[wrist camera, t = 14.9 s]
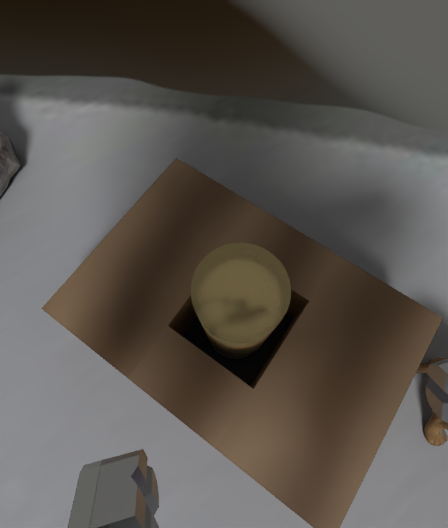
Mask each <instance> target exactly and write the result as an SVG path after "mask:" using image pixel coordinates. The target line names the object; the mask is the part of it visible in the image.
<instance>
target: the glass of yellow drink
mask: <svg viewBox="0 0 448 528" xmlns="http://www.w3.org/2000/svg"><path fill="white" fill-rule="evenodd" d="M191 299H192V304H193V307H194V310H195V312H196V314H197V316H198V318H199V320H200V322H201V324H202V326H203V328H204V331H205V333H206V335H207V337H208V339H209V341H210V343H211V345H212V346H213V347H214V349H215V350H216V351H218V352H219V353H220V354H222V355H224V356H226V357H229V358H244V357H247V356H249V355H251V354H253V353H254V352H255V351H256V350H257V349H258V348H259V347H260V346H261V345H262V344H263V342H264V341H265V340H266V339H267V337H268V336H269V335H270V334H271V333H272V331H273V330H274V329H275V328H276V327H277V325H278V324H279V323H280V322H281V320H282V319H283V318H284V316H285V314H286V312H287V310H288V307H289V304H290V300H291V285H290V280H289V277H288V274H287V272H286V270H285V268H284V266H283V265H282V263H281V262H280V261H279V260H278V258H276V257H275V256H274V255H273V254H272V253H271V252H269V251H268V250H266V249H264V248H262V247H260V246H257V245H254V244H249V243H231V244H227V245H224V246H221V247H219V248H217V249H215V250H213V251H212V252H210V253H209V254H208V255H206V256H205V257H204V258H203V260H202V261H201V262H200V263H199V265H198V266H197V268H196V270H195V272H194V275H193V278H192V282H191Z"/></svg>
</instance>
